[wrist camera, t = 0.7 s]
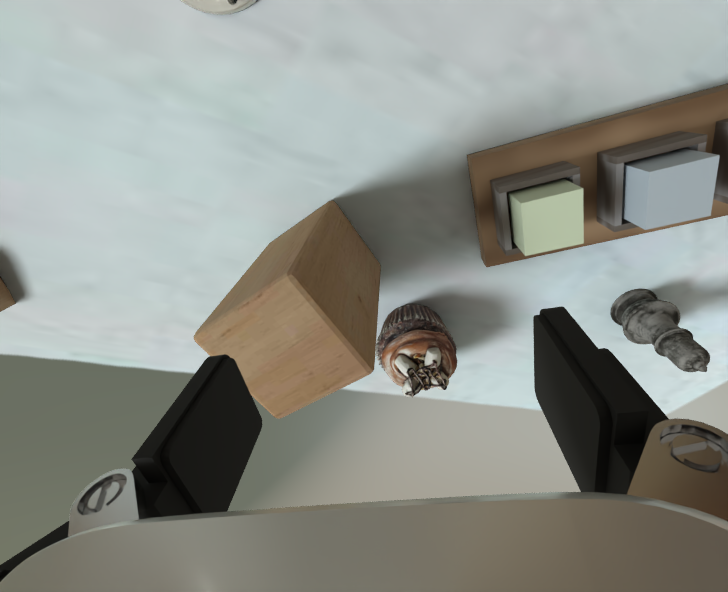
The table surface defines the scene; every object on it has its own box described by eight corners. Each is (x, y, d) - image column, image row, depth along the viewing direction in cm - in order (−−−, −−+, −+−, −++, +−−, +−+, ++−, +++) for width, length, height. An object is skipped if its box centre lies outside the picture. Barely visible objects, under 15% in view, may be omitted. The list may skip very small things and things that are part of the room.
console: (466, 155, 39) (478, 164, 33) (806, 62, 33) (885, 55, 28) (481, 258, 44) (493, 280, 39) (777, 193, 38) (837, 208, 33)
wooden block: (382, 265, 45) (376, 373, 28) (318, 304, 48) (276, 422, 31) (333, 197, 42) (291, 271, 24) (267, 243, 45) (188, 339, 27)
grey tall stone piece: (597, 309, 46) (658, 373, 36) (642, 277, 44) (721, 335, 33) (626, 335, 48) (692, 404, 37) (670, 305, 45) (754, 369, 35)
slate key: (622, 164, 33) (649, 172, 30) (684, 148, 33) (719, 155, 29) (620, 216, 36) (645, 229, 32) (678, 203, 35) (710, 215, 31)
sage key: (508, 192, 35) (520, 203, 32) (563, 178, 34) (583, 188, 31) (512, 241, 38) (525, 256, 34) (565, 229, 37) (583, 243, 33)
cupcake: (429, 285, 46) (438, 330, 37) (461, 342, 50) (476, 394, 41) (363, 316, 49) (357, 365, 40) (398, 368, 53) (399, 422, 44)
